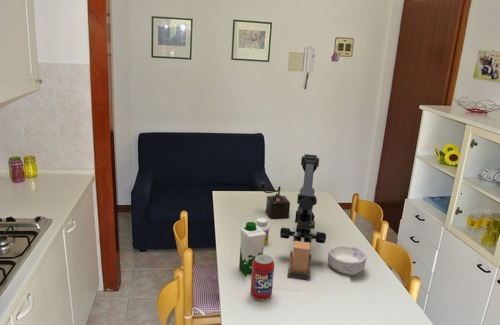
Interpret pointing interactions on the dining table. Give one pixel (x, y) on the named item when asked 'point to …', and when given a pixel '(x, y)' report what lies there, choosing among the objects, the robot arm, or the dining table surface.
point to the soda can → (262, 277)
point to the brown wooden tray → (296, 274)
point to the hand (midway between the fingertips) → (300, 255)
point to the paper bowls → (346, 259)
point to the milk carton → (250, 246)
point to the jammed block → (300, 257)
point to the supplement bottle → (263, 228)
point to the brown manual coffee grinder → (276, 204)
